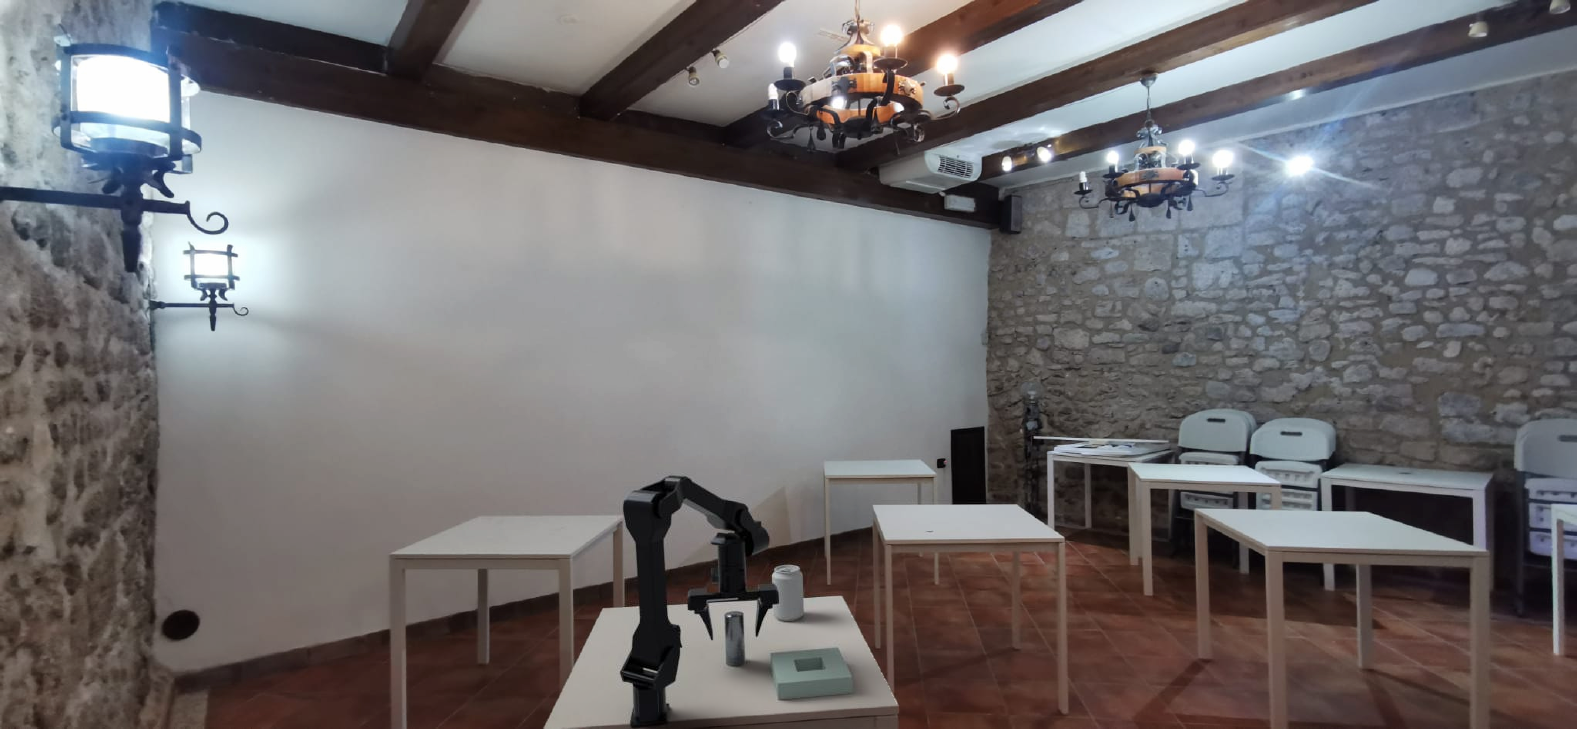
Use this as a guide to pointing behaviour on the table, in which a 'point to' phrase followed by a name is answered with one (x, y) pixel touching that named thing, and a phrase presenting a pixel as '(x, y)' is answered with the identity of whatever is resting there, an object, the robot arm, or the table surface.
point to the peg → (734, 638)
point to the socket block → (810, 673)
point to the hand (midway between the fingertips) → (734, 637)
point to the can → (788, 593)
